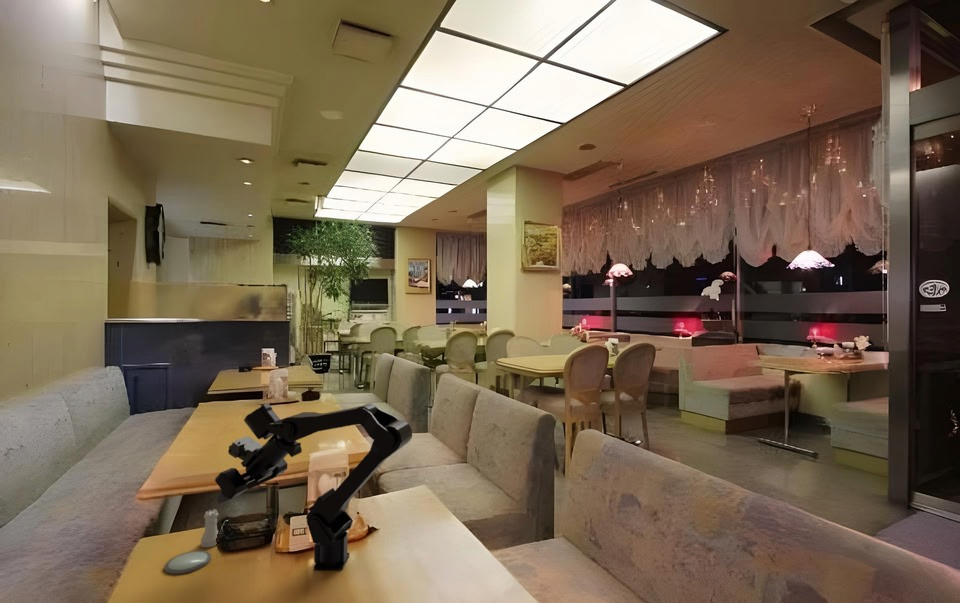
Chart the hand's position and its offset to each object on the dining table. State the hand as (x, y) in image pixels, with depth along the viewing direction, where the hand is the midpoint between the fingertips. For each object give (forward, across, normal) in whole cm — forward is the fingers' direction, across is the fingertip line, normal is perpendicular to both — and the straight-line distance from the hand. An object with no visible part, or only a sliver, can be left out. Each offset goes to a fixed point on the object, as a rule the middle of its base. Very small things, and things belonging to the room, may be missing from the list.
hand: (233, 494), depth 113 cm
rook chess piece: (+14, 0, +5) cm, 15 cm away
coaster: (+12, +9, +6) cm, 16 cm away
